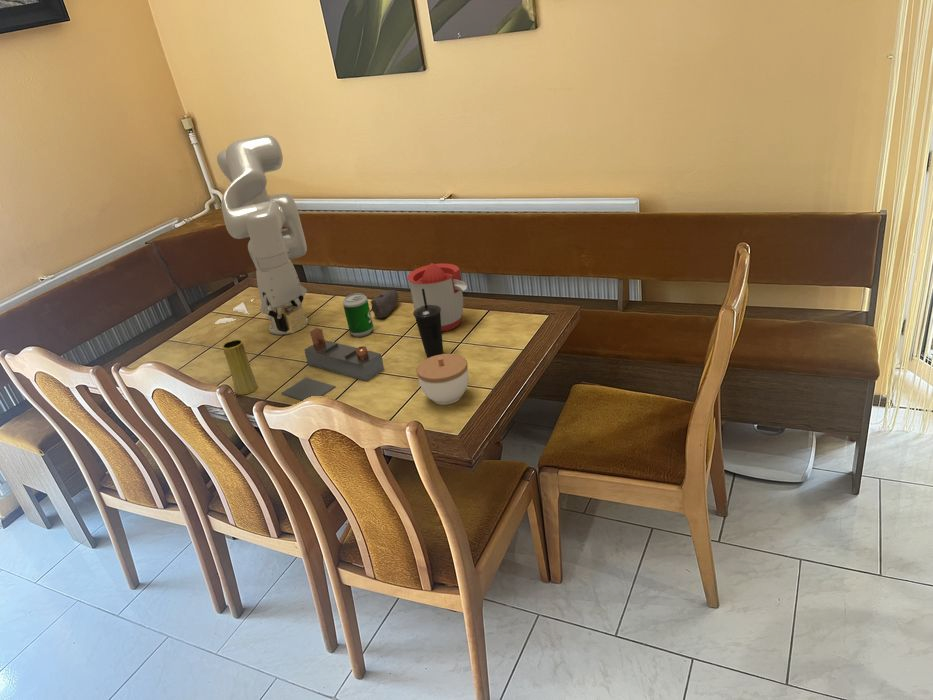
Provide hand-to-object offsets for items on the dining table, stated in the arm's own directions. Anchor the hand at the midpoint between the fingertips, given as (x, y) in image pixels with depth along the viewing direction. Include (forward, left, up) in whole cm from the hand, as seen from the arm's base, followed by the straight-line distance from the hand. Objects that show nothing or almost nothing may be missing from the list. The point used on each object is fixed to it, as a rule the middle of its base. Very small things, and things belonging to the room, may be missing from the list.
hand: (290, 325), depth 186 cm
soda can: (-12, +33, -20) cm, 40 cm away
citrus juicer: (+10, +47, -20) cm, 52 cm away
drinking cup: (+20, +30, -20) cm, 41 cm away
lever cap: (0, 0, 0) cm, 0 cm away
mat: (0, 0, -19) cm, 19 cm away
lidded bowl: (+38, +13, -20) cm, 45 cm away
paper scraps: (-68, +26, -20) cm, 76 cm away
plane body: (0, +14, -19) cm, 24 cm away
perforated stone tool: (-15, +48, -20) cm, 54 cm away
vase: (-18, -7, -20) cm, 28 cm away
